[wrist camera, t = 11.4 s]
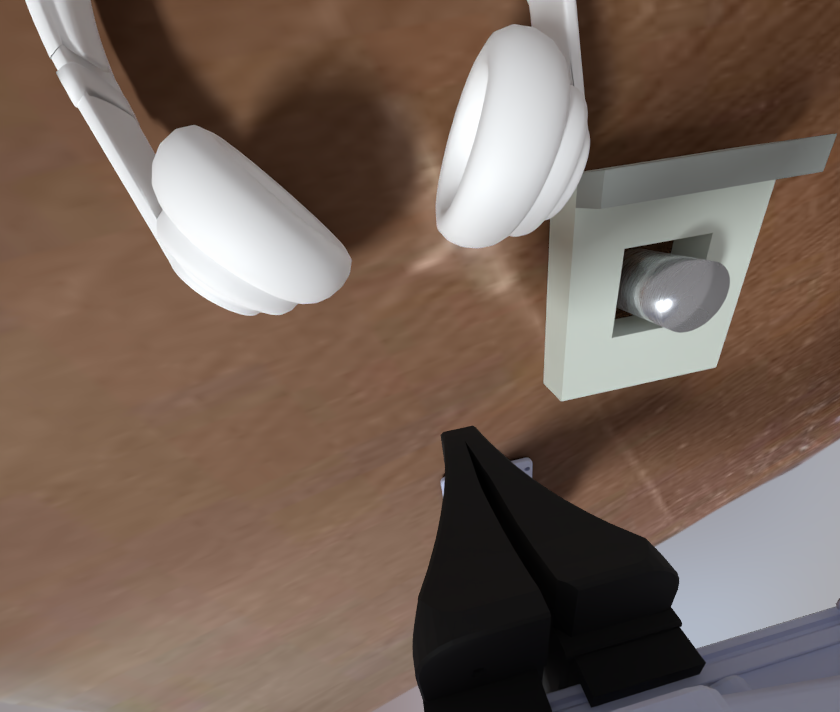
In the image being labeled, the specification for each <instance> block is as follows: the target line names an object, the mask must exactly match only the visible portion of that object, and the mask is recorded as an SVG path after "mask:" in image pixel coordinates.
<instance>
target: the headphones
mask: <svg viewBox="0 0 840 712" xmlns="http://www.w3.org/2000/svg"><path fill="white" fill-rule="evenodd" d="M25 1H26V3H27V6H28V8H29V11H30V13H31V16H32V19H33V21H34V23H35V26H36V28H37V30H38V32H39V35H40V37H41V39H42V42H43V44H44V46H45V48H46V50H47V52H48V55H49V57H50V59H52V61H53V62H54V64H55V66H56V68H57V70H58V71H57V72H56V74H57V75H58V77H59V79H60V81H61V83H62V84H63V86H64V88H65V90H66V92H67V93H68V95H69V97H70V99H71V101H72V102H73V104H74V106H75V107H77V108H79V110H80V112H81V113H82V115H83V117H84V118H85V120H86V122H87V123H88V125H89V127H90V128H91V130H92V132H93V134H94V135H95V137H96V139H97V140H98V142H99V144H100V145H101V147H102V149H103V150H104V152H105V154H106V155H107V157H108V159H109V161H110V162H111V164H112V166H113V167H114V169H115V171H116V172H117V174H118V176H119V177H120V179H121V181H122V182H123V184H124V186H125V187H126V189H127V191H128V192H129V194H130V196H131V197H132V199H133V201H134V202H135V204H136V206H137V208H138V209H139V211H140V213H141V214H142V216H143V218H144V219H145V221H146V223H147V224H148V226H149V228H150V230H151V231H152V233H153V235H154V236H155V238H156V240H157V241H158V243H159V245H160V246H161V248H162V250H163V252H164V253H165V255H166V257H167V258H168V260H169V262H170V264H171V266H172V268H173V269H174V271H175V272H176V274H177V275H178V276H179V277H180V278H181V279H182V280H183V281H184V282H185V283H186V284H187V285H188V286H190V287H191V288H192V289H193V290H195V291H196V292H197V293H199V294H200V295H202V296H203V297H205V298H206V299H208V300H209V301H211V302H213V303H215V304H217V305H219V306H221V307H223V308H225V309H227V310H230V311H233V312H235V313H239V314H243V315H249V316H252V315H257V314H258V313H260V312H263V313H267V314H272V315H282V314H284V313H287V312H289V311H291V310H292V309H293V308H294V307H295V306H296V305H297V304H298V303H299V304H310V303H318V302H320V301H323V300H325V299H327V298H329V297H331V296H332V295H333V294H334V293H335V292H336V291H338V290H339V289H340V288H341V287H342V286H343V284H344V283H345V281H346V279H347V278H348V276H349V274H350V269H351V262H352V259H351V257H350V255H349V254H348V252H347V250H346V248H345V247H344V245H343V244H342V243H341V242H340V241H339V240H338V239H337V238H336V237H335V236H334V234H333V233H332V232H331V231H330V230H329V229H327V228H326V227H325V226H324V225H323V224H322V223H321V222H320V221H319V220H318V219H317V218H316V217H315V216H314V215H313V214H312V213H311V212H310V211H308V210H307V209H306V208H305V207H304V206H303V205H302V204H301V203H300V202H299V201H297V200H296V199H295V198H294V197H293V196H292V195H291V194H290V193H288V192H287V191H286V190H285V189H284V188H283V187H282V186H280V185H279V184H278V183H277V182H276V181H275V180H273V179H272V178H271V177H270V176H269V175H268V174H266V173H265V172H264V171H263V170H262V169H260V168H259V167H258V166H257V165H256V164H254V163H253V162H252V161H251V160H250V159H248V158H247V157H246V156H245V155H243V154H242V153H241V152H239V151H238V150H237V149H236V148H234V147H233V146H232V145H230V144H229V143H228V142H226V141H225V140H224V139H222V138H221V137H219V136H218V135H216V134H214V133H212V132H210V131H208V130H206V129H203V128H201V127H199V126H197V125H191V126H186V127H182V128H177V129H175V130H174V131H173V132H172V133H171V134H170V135H169V136H168V137H167V138H166V139H164V140H163V141H162V142H161V143H160V145H159V148H158V150H157V153H156V155H155V153H154V151H153V149H152V148H151V146H150V144H149V142H148V140H147V139H146V137H145V135H144V133H143V132H142V130H141V128H140V126H139V122H138V120H137V118H136V116H135V114H134V112H133V110H132V108H131V106H130V104H129V103H128V101H127V99H126V98H125V97H124V95H123V93H122V91H121V89H120V87H119V85H118V83H117V82H116V80H115V77H114V75H113V73H112V70H111V68H110V65H109V62H108V60H107V57H106V54H105V51H104V49H103V46H102V43H101V40H100V36H99V33H98V30H97V26H96V22H95V18H94V14H93V9H92V5H91V0H25ZM527 2H528V4H529V8H530V17H531V26H532V27H529V26H523V25H517V24H512V25H510V26H507V27H505V28H502V29H500V30H497V31H495V32H494V33H493V34H492V35H491V36H490V37H489V39H488V40H487V42H486V43H485V45H484V47H483V48H482V50H481V52H480V53H479V55H478V57H477V58H476V60H475V62H474V64H473V67H472V69H471V71H470V74H469V76H468V78H467V81H466V84H465V86H464V89H463V92H462V95H461V97H460V100H459V103H458V107H457V110H456V113H455V116H454V119H453V123H452V126H451V130H450V133H449V137H448V141H447V145H446V149H445V153H444V157H443V162H442V167H441V172H440V177H439V182H438V189H437V197H436V222H437V228H438V230H439V231H440V233H441V234H442V235H443V236H444V237H445V238H446V239H447V240H448V241H450V242H452V243H454V244H456V245H459V246H461V247H467V248H483V247H488V246H492V245H495V244H497V243H499V242H500V241H502V240H503V239H505V238H506V237H508V236H513V237H518V236H522V235H526V234H529V233H531V232H532V231H534V230H535V229H536V228H538V227H539V226H540V225H541V224H542V223H543V222H544V220H548V219H550V218H552V217H553V216H555V215H556V214H557V213H558V212H559V211H560V210H561V209H562V208H563V207H564V206H565V204H566V203H567V202H568V200H569V199H570V197H571V196H572V194H573V192H574V191H575V189H576V187H577V185H578V183H579V181H580V179H581V176H582V174H583V171H584V169H585V166H586V163H587V159H588V155H589V149H590V135H589V131H588V124H587V119H588V111H587V104H586V101H585V94H584V83H583V72H582V61H581V50H580V39H579V28H578V17H577V5H576V0H527Z"/></svg>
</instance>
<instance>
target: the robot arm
mask: <svg viewBox="0 0 840 712" xmlns="http://www.w3.org/2000/svg"><path fill="white" fill-rule="evenodd" d="M441 441H442V448H443V455H444V462H445V477H443V478H442V479H441V488H442V495H443V503H442V510H441V516H440V521H439V526H438V531H437V536H436V540H435V544H434V548H433V552H432V555H431V559H430V563H429V566H428V569H427V573H426V576H425V579H424V582H423V584H422V587H421V590H420V593H419V596H418V604H417V610H416V617H415V624H414V632H413V660H414V668H415V676H416V681H417V684H418V687H419V689H420V692H421V696H422V699H423V704H424V712H840V599H839V600H838V602H837V603H836V607H833V608H829V609H826V610H823V611H819V612H816V613H813V614H809V615H806V616H803V617H800V618H796V619H793V620H790V621H787V622H783V623H780V624H777V625H773V626H770V627H766V628H763V629H760V630H756V631H754V632H750V633H747V634H743V635H740V636H737V637H734V638H730V639H727V640H724V641H720V642H717V643H714V644H710V645H707V646H704V647H700V648H697V649H695V647H694V646H693V645H692V643H691V642H690V640H689V639H688V638H687V637H686V635H685V634H684V632H683V631H682V630H681V628H680V627H681V626H682V622H681V620H680V619H679V617H678V616H677V615H676V613H675V612H674V611H673V609H672V608H671V605H672V602H673V600H674V597H675V595H676V592H677V590H678V586H679V577H678V574H677V572H676V571H675V570H674V568H673V567H672V566H671V565H670V564H669V563H668V561H667V560H666V559H665V558H664V557H663V556H662V555H661V553H660V552H658V550H657V549H656V548H655V547H654V546H653V545H652V544H651V543H650V542H649V541H648V540H647V539H646V538H643V537H641V536H639V535H636V534H634V533H632V532H629V531H627V530H624V529H622V528H620V527H617V526H615V525H613V524H610V523H608V522H606V521H604V520H602V519H600V518H598V517H596V516H594V515H592V514H590V513H588V512H586V511H584V510H582V509H581V508H579V507H577V506H575V505H573V504H572V503H570V502H568V501H566V500H564V499H563V498H561V497H560V496H558V495H556V494H555V493H553V492H552V491H550V490H548V489H547V488H546V487H544V486H543V485H541V484H540V483H538V482H537V481H535V480H534V479H533V478H532V465H533V463H532V461H531V459H530V458H522V459H518V460H513V461H510V460H509V459H508V458H506V457H505V456H504V455H503V454H502V453H501V452H500V451H499V450H497V449H496V448H495V447H494V446H493V445H492V444H491V443H490V442H489V441H488V440H487V439H486V438H485V437H484V436H483V435H482V434H481V433H480V432H479V431H478V430H477V428H476V427H474V426H469V427H465V428H460V429H456V430H451V431H447V432H443V433H442V434H441Z"/></svg>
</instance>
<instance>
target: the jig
mask: <svg viewBox="0 0 840 712" xmlns="http://www.w3.org/2000/svg"><path fill="white" fill-rule="evenodd" d="M836 135H837V134H830V135H822V136H815V137H808V138H801V139H793V140H786V141H779V142H771V143H764V144H757V145H750V146H742V147H736V148H729V149H723V150H717V151H710V152H704V153H698V154H691V155H685V156H679V157H672V158H666V159H659V160H653V161H647V162H640V163H634V164H628V165H621V166H615V167H609V168H602V169H596V170H590V171H583V174H582V176H581V179H580V181H579V183H578V185H577V187H576V189H575V191H574V192H573V194H572V196H571V197H570V199H569V200H568V202H567V203H566V204H565V206H564V207H563V208H562V209H561V210H560V211H559V212H558V213H557V214H556V215H555V216H553V217H552V218H550V236H549V261H548V285H547V309H546V334H545V358H544V382H543V383H544V384H545V385H546V386H547V387H548V388H549V389H550V390H551V391H552V392H553V393H554V394H555V395H556V396H557V397H558V398H559V399H560V400H561V401H566V400H570V399H575V398H579V397H584V396H588V395H593V394H597V393H602V392H606V391H611V390H615V389H620V388H625V387H629V386H634V385H638V384H643V383H647V382H652V381H656V380H661V379H665V378H670V377H674V376H679V375H683V374H688V373H692V372H697V371H701V370H706V369H710V368H715V367H716V366H717V363H718V360H719V357H720V353H721V350H722V347H723V344H724V341H725V338H726V335H727V331H728V328H729V325H730V322H731V319H732V316H733V313H734V309H735V306H736V303H737V300H738V297H739V294H740V290H741V287H742V284H743V281H744V278H745V275H746V272H747V268H748V265H749V262H750V259H751V256H752V253H753V250H754V246H755V243H756V240H757V237H758V234H759V231H760V227H761V224H762V221H763V218H764V215H765V212H766V209H767V205H768V202H769V199H770V196H771V193H772V190H773V187H774V183H775V180H776V179H781V178H787V177H793V176H799V175H805V174H811V173H817V172H823V170H824V167H825V165H826V162H827V159H828V157H829V154H830V151H831V149H832V146H833V143H834V141H835V138H836ZM671 240H674V241H673V246H672V251H671V254H675V255H681V256H687V257H693V258H698V259H704V260H710V261H715V262H719V263H721V264H722V265H724V266H725V267H726V269H727V270H728V273H729V276H730V287H729V291H728V294H727V297H726V299H725V301H724V303H723V305H722V306H721V308H720V309H719V310H718V312H717V313H716V314H715V315H714V316H713V317H712V318H711V319H710V320H709V321H708V322H706V323H705V324H704V325H702V326H701V327H699V328H697V329H695V330H692V331H689V332H683V333H679V332H674V331H671V330H669V329H666V328H664V327H662V326H659V325H657V324H655V323H652V322H650V321H647V320H645V319H643V318H640V317H638V316H636V315H634V316H629V317H624V318H619V319H615V312H616V305H617V298H618V291H619V284H620V277H621V270H622V263H623V256H624V249H626V248H632V247H637V246H643V245H648V244H654V243H659V242H665V241H671Z"/></svg>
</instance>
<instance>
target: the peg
mask: <svg viewBox="0 0 840 712" xmlns="http://www.w3.org/2000/svg"><path fill="white" fill-rule="evenodd" d="M729 287H730V276H729V273H728V270H727V269H726V267H725V266H724V265H722V264H721V263H719V262H715V261H710V260H704V259H698V258H693V257H687V256H681V255H675V254H670V253H664V252H658V251H653V250H647V249H641V248H634V249H629V250H627V251H625V252H624V256H623V263H622V270H621V277H620V284H619V291H618V298H617V305H616V307H617V308H619V309H621V310H624V311H626V312H628V313H631V314H633V315H636V316H638V317H640V318H643V319H645V320H647V321H650V322H652V323H655V324H657V325H659V326H662V327H664V328H666V329H669V330H671V331H674V332H679V333H683V332H689V331H692V330H695V329H697V328H699V327H701V326H702V325H704V324H705V323H706V322H708V321H709V320H710V319H711V318H712V317H713V316H714V315H715V314H716V313H717V312H718V310H719V309H720V308H721V306H722V305H723V303H724V301H725V299H726V297H727V294H728V291H729Z"/></svg>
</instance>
